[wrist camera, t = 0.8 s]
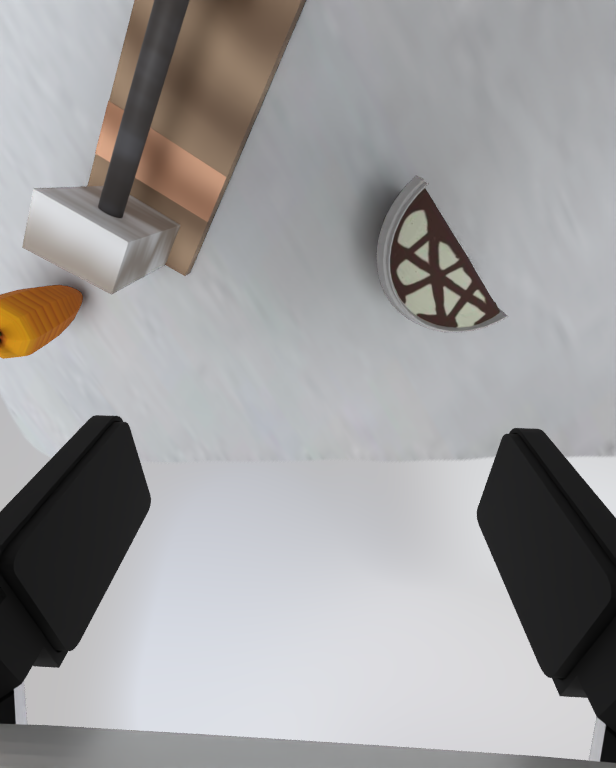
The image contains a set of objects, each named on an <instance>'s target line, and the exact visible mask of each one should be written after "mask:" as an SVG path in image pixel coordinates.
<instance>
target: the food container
mask: <svg viewBox="0 0 616 768" xmlns="http://www.w3.org/2000/svg"><path fill="white" fill-rule="evenodd" d="M427 185H428V183H426V182H425V181H424V179H422V178H420V177H418V176H415V177H414V178H413V179H412V180H411V181H410V182H409V183H408V184H407V185H406V186H405V187H404V189H403V190H402V191H401V192H400V194H399V195H398V196H397V198H396V199H395V201H394V202H393V204H392V206H391V208H390V209H389V211H388V213H387V215H386V216H385V218H384V221H383V225H382V227H381V231H380V235H379V239H378V246H377V270H378V275H379V279H380V283H381V285H382V288H383V290H384V293H385V294H386V296H387V298H388V299H389V301H390V302H391V304H392V305H393V306H394V307H395V308H396V309H397V310H398V311H399V312H400V313H401V314H402V315H404V316H405V317H406V318H408V319H410V320H411V321H413V322H415V323H417V324H419V325H421V326H423V327H426V328H429V329H432V330H436V331H441V332H467V331H474V330H478V329H482V328H485V327H488V326H490V325H493V324H495V323H498V322H499V321H501V320H503V319H505V318H507V317H508V316H507V315H506V314H505V313H504V312H503V311H501V310H500V309H499V308H498V307H497V305H496V303H495V302H494V301H493V299H492V298H491V296H490V295H489V293H488V291H487V290H486V288H485V286H484V284H483V283H482V281H481V279H480V278H479V276H478V274H477V273H476V271H475V269H474V267H473V266H472V264H471V262H470V260H469V259H468V257H467V255H466V253H465V252H464V250H463V249H462V247H461V246H460V244H459V243H458V241H457V239H456V238H455V236H454V235H453V233H452V231H451V230H450V228H449V226H448V225H447V223H446V222H445V220H444V218H443V217H442V215H441V213H440V212H439V210H438V208H437V207H436V205H435V203H434V202H433V200H432V199H431V197H430V195H429V194H428V192H427V191H426V189H425V187H426V186H427Z"/></svg>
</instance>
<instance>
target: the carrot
mask: <svg viewBox="0 0 616 768" xmlns="http://www.w3.org/2000/svg"><path fill="white" fill-rule="evenodd" d="M82 300H83V296H82V293H81V292H80V291H78V290H77V289H74V288H71V287H68V286H62V285H53V286H44V287H36V288H28V289H21V290H16V291H12V292H9V293H5V294H1V295H0V357H1V358H12V357H21V356H27V355H30V354H32V353H34V352H35V351H37V350H39V349H40V348H42V347H43V346H45V345H46V344H48V343H49V342H50V341H52V340H53V339H55V338H56V337H57V336H59V335H60V334H61V333H62V332H63V331H64V330H65V329H66V328H67V327H68V326H69V324H70V323H71V322H72V321H73V320H74V318H75V316H76V314H77V312H78V310H79V308H80V306H81V304H82Z"/></svg>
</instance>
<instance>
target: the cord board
mask: <svg viewBox="0 0 616 768" xmlns="http://www.w3.org/2000/svg"><path fill="white" fill-rule="evenodd" d="M305 2H306V0H135V1H134V5H133V9H132V13H131V17H130V21H129V25H128V29H127V33H126V36H125V40H124V44H123V48H122V52H121V56H120V60H119V64H118V68H117V72H116V76H115V80H114V84H113V88H112V92H111V96H110V99H109V101H108V105H107V108H106V112H105V116H104V120H103V124H102V128H101V132H100V136H99V140H98V144H97V148H96V152H95V154H96V155H95V159H94V162H93V166H92V170H91V174H90V178H89V182H88V186H87V187H60V188H33V193H32V199H31V204H30V209H29V215H28V220H27V225H26V231H25V236H24V241H23V247H22V248H24V249H26V250H28V251H30V252H32V253H34V254H36V255H38V256H40V257H41V258H43V259H45V260H47V261H49V262H51V263H53V264H55V265H57V266H58V267H60V268H62V269H64V270H66V271H68V272H70V273H72V274H74V275H75V276H77V277H79V278H81V279H83V280H85V281H87V282H89V283H91V284H93V285H94V286H96V287H98V288H100V289H102V290H104V291H106V292H108V293H110V294H113V293H115V292H117V291H119V290H121V289H122V288H124V287H126V286H128V285H130V284H131V283H133V282H135V281H137V280H139V279H140V278H142V277H144V276H146V275H148V274H149V273H151V272H153V271H155V270H157V269H158V268H160V267H162V266H164V265H167V266H168V267H170V268H172V269H174V270H175V271H177V272H179V273H181V274H182V275H184V276H186V275H187V274H189V273H190V272H191V269H192V267H193V265H194V262H195V260H196V258H197V255H198V253H199V251H200V248H201V246H202V244H203V241H204V239H205V237H206V234H207V232H208V229H209V227H210V225H211V222H212V220H213V218H214V215H215V213H216V211H217V208H218V206H219V204H220V201H221V199H222V197H223V194H224V192H225V190H226V187H227V185H228V183H229V180H230V178H231V176H232V173H233V171H234V168H235V166H236V164H237V161H238V159H239V157H240V154H241V152H242V150H243V147H244V145H245V143H246V140H247V138H248V136H249V133H250V131H251V129H252V126H253V124H254V122H255V119H256V117H257V114H258V112H259V110H260V107H261V105H262V103H263V100H264V98H265V96H266V93H267V91H268V89H269V86H270V84H271V82H272V79H273V77H274V75H275V72H276V70H277V68H278V65H279V63H280V61H281V58H282V56H283V53H284V51H285V49H286V46H287V44H288V42H289V39H290V37H291V35H292V32H293V30H294V28H295V25H296V23H297V21H298V18H299V16H300V14H301V11H302V9H303V7H304V4H305Z"/></svg>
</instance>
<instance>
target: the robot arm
mask: <svg viewBox="0 0 616 768" xmlns="http://www.w3.org/2000/svg"><path fill="white" fill-rule="evenodd" d="M150 503H151V497H150V493H149V490H148V486H147V483H146V480H145V476H144V473H143V470H142V466H141V463H140V460H139V457H138V453H137V450H136V447H135V443H134V440H133V437H132V433H131V430H130V427H129V425H128V423H126V422H123V420H122V419H121V418H120V417H118V416H99V415H96V416H93V417H91V418H90V419H89V420H88V421H87V422H86V423H85V424H84V425H83V426H82V427H81V428H80V429H79V430H78V431H77V433H76V434H75V435H74V436H73V437H72V438H71V439H70V440H69V441H68V442H67V443H66V444H65V445H64V446H63V447H62V448H61V449H60V450H59V451H58V452H57V453H56V454H55V455H54V456H53V457H52V459H51V460H50V461H49V462H48V463H47V464H46V465H45V466H44V467H43V468H42V469H41V470H40V471H39V472H38V473H37V474H36V475H35V476H34V477H33V478H32V479H31V480H30V482H28V484H27V485H26V486H25V487H24V488H23V489H22V490H21V491H20V492H19V493H18V494H17V495H16V496H15V497H14V498H13V499H12V500H11V501H10V502H9V503H8V504H7V505H6V507H5V508H4V509H3V510H2V511H1V512H0V768H616V518H615V517H614V515H613V514H612V513H611V512H610V511H609V509H608V508H607V507H606V506H605V505H604V503H603V502H602V501H601V500H600V499H599V498H598V496H597V495H596V494H595V493H594V492H593V490H592V489H591V488H590V487H589V485H588V484H587V483H586V482H585V481H584V479H583V478H582V477H581V476H580V475H579V474H578V472H577V471H576V470H575V469H574V467H573V466H572V465H571V464H570V463H569V461H568V460H567V459H566V458H565V457H564V455H563V454H562V453H561V452H560V451H559V449H558V448H557V447H556V446H555V445H554V443H553V442H552V441H551V440H550V439H549V437H548V436H547V435H546V434H545V433H544V432H543V431H542V430H540V429H525V428H514V429H512V430H511V431H510V433H509V434H505V435H504V436H503V437H502V440H501V443H500V445H499V448H498V451H497V454H496V457H495V460H494V463H493V466H492V468H491V472H490V474H489V477H488V480H487V483H486V486H485V489H484V491H483V495H482V497H481V500H480V503H479V506H478V509H477V520H478V523H479V526H480V528H481V531H482V533H483V535H484V537H485V540H486V542H487V545H488V547H489V549H490V551H491V554H492V556H493V559H494V561H495V563H496V565H497V568H498V570H499V573H500V575H501V577H502V580H503V582H504V584H505V587H506V589H507V591H508V593H509V596H510V598H511V600H512V603H513V605H514V607H515V609H516V612H517V614H518V617H519V619H520V621H521V624H522V626H523V628H524V631H525V633H526V635H527V638H528V640H529V642H530V645H531V647H532V649H533V652H534V654H535V656H536V659H537V661H538V663H539V665H540V667H541V669H542V671H543V672H544V674H545V675H546V676H548V677H550V678H552V679H553V681H554V684H555V686H556V688H557V690H558V693H559V695H560V696H567V697H584V698H588V700H589V702H590V703H591V706H592V708H593V710H594V712H595V714H596V716H597V717H596V723H595V728H594V734H593V739H592V745H591V750H590V756H589V761H586V760H575V759H563V758H552V757H540V756H526V755H510V754H496V753H482V752H467V751H453V750H437V749H422V748H409V747H393V746H379V745H363V744H347V743H346V744H345V743H332V742H316V741H300V740H285V739H269V738H251V737H236V736H219V735H204V734H187V733H170V732H153V731H135V730H117V729H101V728H84V727H65V726H48V725H27V713H26V700H25V687H24V679H25V678H26V676H27V674H28V673H29V671H30V669H31V667H32V666H40V667H58V668H59V667H60V665H61V663H62V661H63V660H64V658H65V656H66V654H67V652H68V651H71V650H73V649H74V648H75V647H76V646H77V645H78V643H79V642H80V640H81V638H82V636H83V634H84V632H85V630H86V628H87V627H88V625H89V623H90V621H91V619H92V617H93V615H94V613H95V611H96V610H97V608H98V606H99V604H100V602H101V600H102V598H103V596H104V594H105V592H106V591H107V589H108V587H109V585H110V583H111V581H112V579H113V577H114V575H115V573H116V571H117V570H118V568H119V566H120V564H121V562H122V560H123V558H124V556H125V554H126V553H127V551H128V549H129V547H130V545H131V543H132V541H133V539H134V537H135V535H136V533H137V532H138V530H139V528H140V526H141V524H142V522H143V520H144V518H145V517H146V515H147V513H148V511H149V508H150Z"/></svg>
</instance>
